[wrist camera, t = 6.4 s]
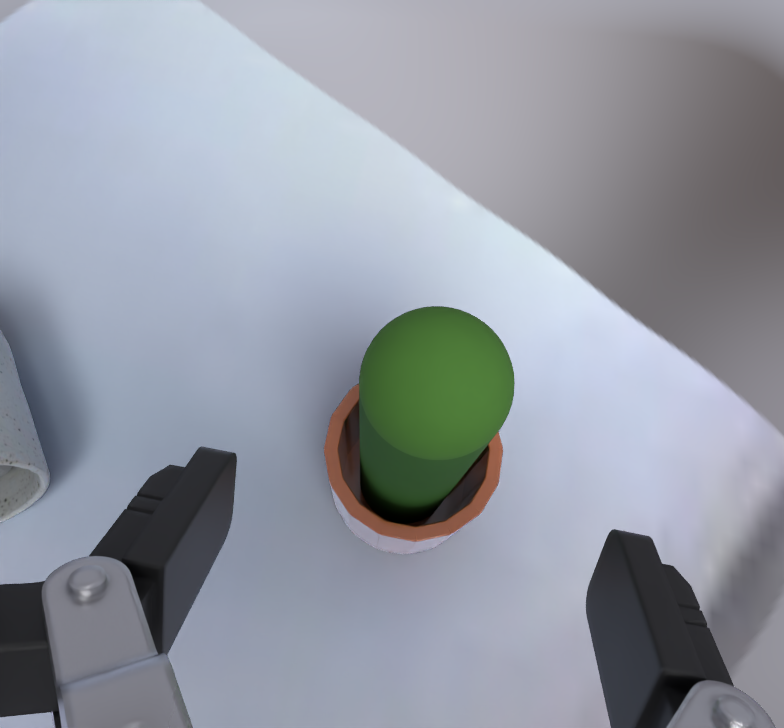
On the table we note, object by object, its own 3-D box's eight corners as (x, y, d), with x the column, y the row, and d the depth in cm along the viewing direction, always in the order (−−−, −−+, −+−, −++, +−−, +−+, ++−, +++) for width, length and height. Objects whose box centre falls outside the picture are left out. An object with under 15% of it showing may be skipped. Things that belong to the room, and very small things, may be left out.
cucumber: (351, 514, 28) (342, 422, 14) (369, 428, 29) (376, 265, 15) (439, 531, 28) (520, 456, 14) (453, 445, 29) (539, 295, 15)
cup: (318, 538, 28) (307, 520, 22) (348, 402, 30) (345, 351, 24) (461, 567, 28) (489, 556, 22) (481, 427, 30) (512, 383, 24)
